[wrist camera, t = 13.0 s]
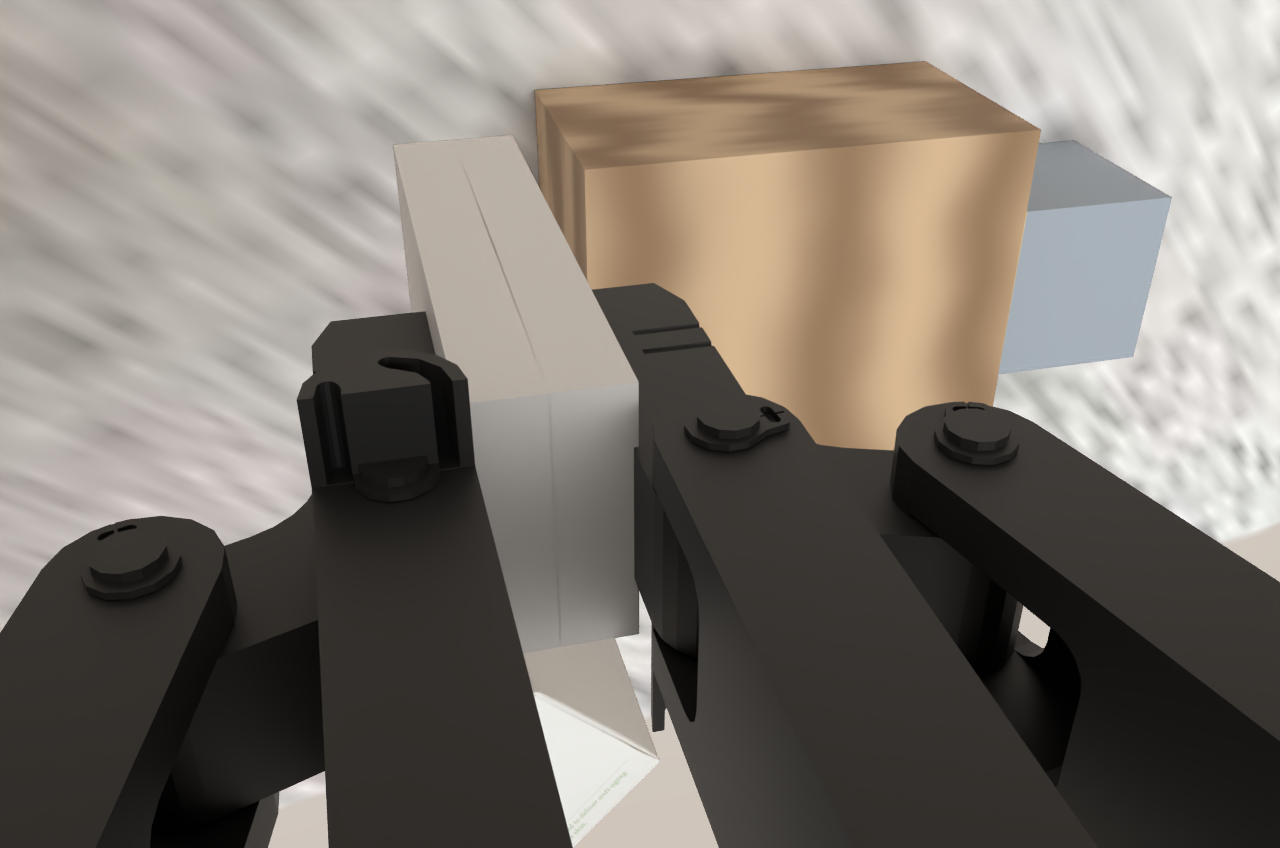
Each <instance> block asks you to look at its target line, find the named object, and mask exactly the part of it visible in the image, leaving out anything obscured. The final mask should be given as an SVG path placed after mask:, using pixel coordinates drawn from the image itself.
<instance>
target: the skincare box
mask: <svg viewBox="0 0 1280 848" xmlns="http://www.w3.org/2000/svg"><path fill="white" fill-rule="evenodd" d="M523 655H524V659H525V662H526V666H527V670H528V674H529V678H530V682H531V686H532V690H533V694H534V698H535V702H536V706H537V709H538V713H539V717H540V721H541V725H542V729H543V733H544V737H545V741H546V745H547V749H548V753H549V756H550V760H551V764H552V768H553V772H554V776H555V780H556V784H557V788H558V792H559V796H560V799H561V803H562V807H563V811H564V815H565V819H566V823H567V827H568V831H569V835H570V839H571V843H572V846H573V847H574V846H575V845H576V844H577V843H578V842H579V841H580V840H581V839H582V838H583V837H584V836H585V835H586V834H587V833H588V832H589V831H590V830H591V829H592V828H593V827H594V826H595V825H596V824H597V823H598V822H599V821H600V820H601V819H602V818H603V817H604V816H605V815H606V814H607V813H608V812H609V811H610V810H611V809H612V808H613V807H614V806H615V805H616V804H617V803H618V802H619V801H620V800H621V799H622V798H623V797H624V796H625V795H626V794H627V793H628V792H629V791H630V790H631V789H632V788H633V787H634V786H635V785H636V784H637V783H639V782H640V780H642V779H643V778H644V777H645V776H646V774H648V773H649V772H650V771H651V770H652V769H653V768H654V767H655V766H656V765H657V764H658V763H659V761H660V759H659V757H658V756H657V753H656V750H655V747H654V744H653V742H652V739H651V736H650V734H649V731H648V728H647V725H646V722H645V720H644V717H643V714H642V712H641V709H640V706H639V703H638V700H637V698H636V695H635V692H634V689H633V687H632V684H631V681H630V678H629V676H628V673H627V670H626V667H625V665H624V662H623V659H622V656H621V654H620V651H619V648H618V645H617V643H616V640H615V638H612V639H606V640H600V641H594V642H588V643H582V644H577V645H571V646H565V647H559V648H553V649H547V650H541V651H535V652H530V653H524V654H523Z"/></svg>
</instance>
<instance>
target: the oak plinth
mask: <svg viewBox="0 0 1280 848" xmlns="http://www.w3.org/2000/svg"><path fill="white" fill-rule="evenodd" d="M535 103H536V125H537V146H538V168H539V188H540V190H541V192H542V194H543V196H544V198H545V200H546V202H547V204H548V206H549V208H550V210H551V212H552V214H553V216H554V218H555V220H556V222H557V224H558V225H559V227H560V229H561V231H562V233H563V235H564V237H565V239H566V241H567V243H568V245H569V247H570V249H571V251H572V253H573V255H574V257H575V259H576V261H577V263H578V265H579V266H580V268H581V270H582V272H583V274H584V276H585V278H586V280H587V282H588V284H589V286H590V288H591V290H593V289H602V288H611V287H621V286H630V285H639V284H648V283H655V284H657V285H658V286H660V287H662V288H664V289H665V290H667V291H669V292H671V293H672V294H674V295H676V296H678V297H679V298H681V299H683V300H685V302H686V303H687V305H688V306H689V308H690V309H691V311H692V313H693V314H694V316H695V317H696V319H697V320H698V322H699V326H700V328H701V327H702V328H703V329H704V331H705V332H706V334H707V336H708V337H709V339H710V340H711V345H712V346H715V348H716V349H717V351H718V352H719V354H720V355H721V357H722V358H723V360H724V362H725V363H726V365H727V366H728V368H729V369H730V371H731V372H732V374H733V375H734V377H735V378H736V380H737V381H738V383H739V385H740V386H741V388H742V389H743V391H744V392H745V394H746V395H752V396H758V397H762V398H765V399H767V400H770V401H772V402H774V403H777V404H779V405H781V406H784V407H785V408H787V409H788V410H789V411H790V412H791V413H792V414H793V415H794V416H796V417H797V418H798V419H799V420H800V421H801V423H802V424H803V426H804V427H805V428H806V430H807V431H808V433H809V434H810V436H811V437H812V438H813V440H814V441H815V443H816V444H820V445H825V446H834V447H842V448H858V449H877V450H894V446H895V438H896V431H897V428H898V427H899V425H900V424H901V422H902V421H903V419H904V418H905V417H906V416H907V415H909V414H911V413H913V412H915V411H917V410H919V409H921V408H923V407H925V406H931V405H937V404H943V403H949V402H965V403H968V402H977V403H984V404H986V405H988V406H992V407H993V402H994V396H995V390H996V385H997V379H998V373H999V367H1000V362H1001V356H1002V350H1003V344H1004V339H1005V333H1006V327H1007V321H1008V316H1009V310H1010V304H1011V299H1012V293H1013V287H1014V281H1015V276H1016V270H1017V264H1018V258H1019V253H1020V247H1021V241H1022V236H1023V230H1024V224H1025V218H1026V213H1027V207H1028V201H1029V195H1030V190H1031V184H1032V178H1033V173H1034V167H1035V161H1036V155H1037V150H1038V144H1039V138H1040V132H1041V130H1040V129H1039V128H1037V127H1035V126H1034V125H1032V124H1030V123H1029V122H1027V121H1025V120H1024V119H1022V118H1020V117H1019V116H1017V115H1015V114H1013V113H1012V112H1010V111H1008V110H1007V109H1005V108H1003V107H1002V106H1000V105H998V104H997V103H995V102H993V101H992V100H990V99H988V98H986V97H985V96H983V95H981V94H980V93H978V92H976V91H975V90H973V89H971V88H970V87H968V86H966V85H965V84H963V83H961V82H959V81H958V80H956V79H954V78H953V77H951V76H949V75H948V74H946V73H944V72H943V71H941V70H939V69H938V68H936V67H934V66H933V65H931V64H929V63H927V62H926V61H925V62H912V63H898V64H884V65H871V66H857V67H843V68H830V69H816V70H802V71H788V72H775V73H761V74H747V75H734V76H720V77H706V78H693V79H679V80H665V81H651V82H638V83H624V84H610V85H597V86H583V87H569V88H556V89H542V90H535Z"/></svg>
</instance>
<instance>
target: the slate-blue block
mask: <svg viewBox="0 0 1280 848" xmlns="http://www.w3.org/2000/svg"><path fill="white" fill-rule="evenodd" d="M1171 199H1172V197H1170V196H1169V195H1167V194H1165V193H1163V192H1162V191H1160V190H1158V189H1157V188H1155V187H1153V186H1151V185H1150V184H1148V183H1146V182H1145V181H1143V180H1141V179H1139V178H1138V177H1136V176H1134V175H1133V174H1131V173H1129V172H1127V171H1126V170H1124V169H1122V168H1121V167H1119V166H1117V165H1115V164H1114V163H1112V162H1110V161H1109V160H1107V159H1105V158H1103V157H1102V156H1100V155H1098V154H1097V153H1095V152H1093V151H1091V150H1090V149H1088V148H1086V147H1085V146H1083V145H1081V144H1079V143H1078V142H1076V141H1062V142H1051V143H1039V144H1038V150H1037V155H1036V161H1035V167H1034V173H1033V178H1032V184H1031V190H1030V195H1029V201H1028V207H1027V213H1026V218H1025V224H1024V230H1023V236H1022V241H1021V247H1020V253H1019V258H1018V264H1017V270H1016V276H1015V281H1014V287H1013V293H1012V299H1011V304H1010V310H1009V316H1008V321H1007V327H1006V333H1005V339H1004V344H1003V350H1002V356H1001V362H1000V367H999V373H998V374H1005V373H1013V372H1020V371H1028V370H1036V369H1043V368H1051V367H1058V366H1066V365H1074V364H1081V363H1089V362H1097V361H1104V360H1112V359H1120V358H1127V357H1133V355H1134V351H1135V347H1136V343H1137V339H1138V335H1139V331H1140V326H1141V322H1142V318H1143V314H1144V310H1145V306H1146V302H1147V298H1148V293H1149V289H1150V285H1151V281H1152V277H1153V273H1154V269H1155V265H1156V260H1157V256H1158V252H1159V248H1160V244H1161V240H1162V236H1163V232H1164V227H1165V223H1166V219H1167V215H1168V211H1169V207H1170V203H1171Z"/></svg>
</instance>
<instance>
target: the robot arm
mask: <svg viewBox="0 0 1280 848" xmlns="http://www.w3.org/2000/svg"><path fill="white" fill-rule="evenodd" d="M393 149H394V158H395V167H396V176H397V185H398V194H399V203H400V212H401V222H402V231H403V240H404V249H405V258H406V267H407V276H408V285H409V294H410V303H411V312H412V313H405V314H396V315H387V316H378V317H368V318H359V319H350V320H341V321H332V322H330V323H329V324H328V326H327V327H326V328H325V330H324V331H323V332H322V334H321V335H320V336H319V337H318V339H317V340H316V341H315V343H314V344H313V345H312V363H313V375H312V376H311V377H310V378H309V379H308V380H306V381H305V382H304V383H303V384H302V387H301V390H300V392H299V395H298V398H297V405H298V410H299V416H300V422H301V428H302V434H303V439H304V445H305V451H306V457H307V463H308V469H309V474H310V480H311V486H312V495H311V496H310V498H309V499H308V501H307V502H306V503H305V504H304V505H303V506H302V507H301V508H300V509H299V510H298V511H297V512H296V513H295V514H293V515H292V516H291V517H289V518H287V519H286V520H284V521H283V522H281V523H279V524H278V525H276V526H275V527H273V528H270V529H268V530H266V531H263V532H261V533H259V534H256V535H254V536H252V537H249V538H246V539H243V540H240V541H238V542H235V543H232V544H229V545H226V546H224V545H223V544H222V542H221V541H220V539H219V538H218V536H217V534H216V533H215V531H214V530H212V529H210V528H208V527H206V526H204V525H202V524H200V523H198V522H196V521H194V520H191V519H183V518H174V517H166V516H157V517H148V518H139V519H130V520H125V521H121V522H117V523H115V524H113V525H111V524H110V525H108V526H105V527H102V528H100V529H97V530H94V531H91V532H90V533H88V534H86V535H84V536H83V537H81V538H79V539H78V540H76V541H74V542H72V543H71V544H69V545H67V546H65V547H64V548H62V549H61V550H60V551H59V552H58V553H57V554H56V555H55V556H54V557H53V558H52V559H51V560H50V562H49V563H48V564H47V565H46V566H45V567H44V568H43V569H42V570H41V571H40V573H39V575H38V576H37V578H36V579H35V581H34V582H33V584H32V585H31V587H30V588H29V590H28V591H27V593H26V594H25V596H24V598H23V599H22V601H21V602H20V604H19V605H18V607H17V608H16V610H15V611H14V613H13V614H12V616H11V617H10V619H9V621H8V622H7V624H6V625H5V627H4V628H3V630H2V631H1V633H0V848H268V845H269V842H270V838H271V835H272V831H273V828H274V825H275V822H276V819H277V815H278V806H279V791H281V790H284V789H286V788H288V787H290V786H292V785H295V784H297V783H299V782H301V781H303V780H306V779H308V778H310V777H312V776H315V775H317V774H319V773H321V772H323V771H325V778H326V799H327V820H328V840H329V848H573V846H572V843H571V839H570V835H569V831H568V827H567V823H566V819H565V815H564V811H563V807H562V803H561V799H560V796H559V792H558V788H557V784H556V780H555V776H554V772H553V768H552V764H551V760H550V756H549V753H548V749H547V745H546V741H545V737H544V733H543V729H542V725H541V721H540V717H539V713H538V709H537V706H536V702H535V698H534V694H533V690H532V686H531V682H530V678H529V674H528V670H527V666H526V662H525V659H524V655H523V654H524V653H530V652H535V651H541V650H547V649H553V648H559V647H565V646H571V645H577V644H582V643H588V642H594V641H600V640H606V639H612V638H618V637H623V636H629V635H635V634H639V591H640V594H641V596H642V599H643V601H644V604H645V606H646V609H647V611H648V614H649V616H650V619H651V621H652V657H651V717H652V729H653V732H656V731H662V730H664V716H665V709H666V708H667V710H668V712H669V715H670V718H671V720H672V723H673V725H674V728H675V731H676V734H677V736H678V739H679V742H680V744H681V747H682V750H683V752H684V755H685V758H686V760H687V763H688V766H689V768H690V771H691V774H692V777H693V779H694V782H695V785H696V787H697V789H698V793H699V795H700V798H701V801H702V803H703V806H704V808H705V811H706V814H707V817H708V819H709V822H710V825H711V827H712V830H713V833H714V835H715V838H716V841H717V844H718V846H719V848H1280V582H1279V581H1277V580H1276V579H1274V578H1273V577H1271V576H1269V575H1268V574H1266V573H1265V572H1263V571H1262V570H1260V569H1259V568H1257V567H1256V566H1254V565H1252V564H1251V563H1249V562H1248V561H1246V560H1245V559H1243V558H1242V557H1240V556H1239V555H1237V554H1236V553H1234V552H1232V551H1231V550H1229V549H1228V548H1226V547H1225V546H1223V545H1222V544H1220V543H1219V542H1217V541H1216V540H1214V539H1212V538H1211V537H1209V536H1208V535H1206V534H1205V533H1203V532H1202V531H1200V530H1199V529H1197V528H1195V527H1194V526H1192V525H1191V524H1189V523H1188V522H1186V521H1185V520H1183V519H1182V518H1180V517H1179V516H1177V515H1175V514H1174V513H1172V512H1171V511H1169V510H1168V509H1166V508H1165V507H1163V506H1162V505H1160V504H1159V503H1157V502H1155V501H1154V500H1152V499H1151V498H1149V497H1148V496H1146V495H1145V494H1143V493H1142V492H1140V491H1138V490H1137V489H1135V488H1134V487H1132V486H1131V485H1129V484H1128V483H1126V482H1125V481H1123V480H1122V479H1120V478H1118V477H1117V476H1115V475H1114V474H1112V473H1111V472H1109V471H1108V470H1106V469H1105V468H1103V467H1102V466H1100V465H1098V464H1097V463H1095V462H1094V461H1092V460H1091V459H1089V458H1088V457H1086V456H1085V455H1083V454H1081V453H1080V452H1078V451H1077V450H1075V449H1074V448H1072V447H1071V446H1069V445H1068V444H1066V443H1065V442H1063V441H1061V440H1060V439H1058V438H1057V437H1055V436H1054V435H1052V434H1051V433H1049V432H1048V431H1046V430H1044V429H1043V428H1041V427H1040V426H1038V425H1037V424H1035V423H1034V422H1032V421H1030V420H1027V419H1025V418H1023V417H1021V416H1019V415H1017V414H1015V413H1013V412H1011V411H1008V410H1004V409H1000V408H996V407H992V406H988V405H986V404H984V403H977V402H968V403H965V402H949V403H943V404H937V405H931V406H925V407H923V408H921V409H919V410H917V411H915V412H913V413H911V414H909V415H907V416H906V417H905V418H904V419H903V421H902V422H901V424H900V425H899V427H898V428H897V431H896V438H895V446H894V450H877V449H858V448H842V447H834V446H825V445H820V444H816V443H815V441H814V440H813V438H812V437H811V436H810V434H809V433H808V431H807V430H806V428H805V427H804V426H803V424H802V423H801V421H800V420H799V419H798V418H797V417H796V416H794V415H793V414H792V413H791V412H790V411H789V410H788V409H787V408H785V407H784V406H781V405H779V404H777V403H774V402H772V401H770V400H767V399H765V398H762V397H758V396H752V395H746V394H745V392H744V391H743V389H742V388H741V386H740V385H739V383H738V381H737V380H736V378H735V377H734V375H733V374H732V372H731V371H730V369H729V368H728V366H727V365H726V363H725V362H724V360H723V358H722V357H721V355H720V354H719V352H718V351H717V349H716V348H715V346H712V345H711V340H710V339H709V337H708V336H707V334H706V332H705V331H704V329H703V328H702V327H701V328H700V326H699V322H698V320H697V319H696V317H695V316H694V314H693V313H692V311H691V309H690V308H689V306H688V305H687V303H686V302H685V300H683V299H681V298H679V297H678V296H676V295H674V294H672V293H671V292H669V291H667V290H665V289H664V288H662V287H660V286H658V285H657V284H655V283H648V284H639V285H630V286H621V287H611V288H602V289H593V290H591V288H590V286H589V284H588V282H587V280H586V278H585V276H584V274H583V272H582V270H581V268H580V266H579V265H578V263H577V261H576V259H575V257H574V255H573V253H572V251H571V249H570V247H569V245H568V243H567V241H566V239H565V237H564V235H563V233H562V231H561V229H560V227H559V225H558V224H557V222H556V220H555V218H554V216H553V214H552V212H551V210H550V208H549V206H548V204H547V202H546V200H545V198H544V196H543V194H542V192H541V190H540V188H539V186H538V184H537V182H536V181H535V179H534V177H533V175H532V173H531V171H530V169H529V167H528V165H527V163H526V161H525V159H524V157H523V155H522V153H521V151H520V149H519V147H518V145H517V143H516V141H515V139H514V138H513V136H512V135H506V136H494V137H482V138H469V139H457V140H444V141H432V142H420V143H407V144H395V145H393ZM1023 606H1025V607H1026V608H1027V609H1028V610H1030V611H1031V612H1032V613H1033V614H1035V615H1036V616H1037V617H1038V618H1039V619H1041V620H1042V621H1043V622H1044V623H1046V624H1047V625H1048V626H1049V627H1050V632H1049V636H1048V641H1047V644H1046V646H1045V648H1041V647H1039V646H1038V645H1036V644H1034V643H1033V642H1031V641H1030V640H1029V639H1027V638H1026V637H1025V636H1024V635H1023V634H1021V633H1020V632H1019V631H1018V628H1019V623H1020V619H1021V614H1022V609H1023Z"/></svg>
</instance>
